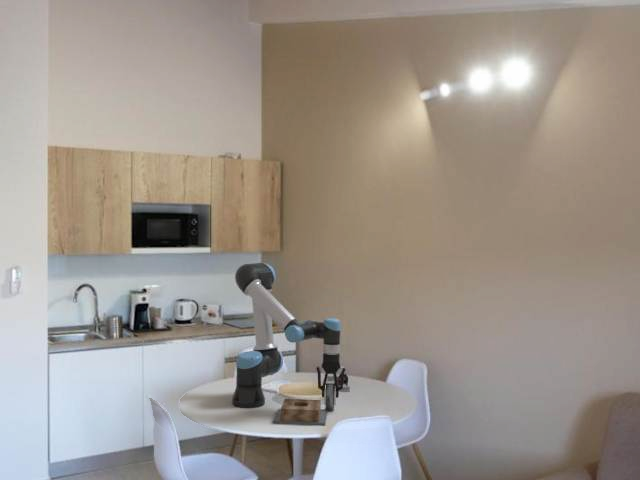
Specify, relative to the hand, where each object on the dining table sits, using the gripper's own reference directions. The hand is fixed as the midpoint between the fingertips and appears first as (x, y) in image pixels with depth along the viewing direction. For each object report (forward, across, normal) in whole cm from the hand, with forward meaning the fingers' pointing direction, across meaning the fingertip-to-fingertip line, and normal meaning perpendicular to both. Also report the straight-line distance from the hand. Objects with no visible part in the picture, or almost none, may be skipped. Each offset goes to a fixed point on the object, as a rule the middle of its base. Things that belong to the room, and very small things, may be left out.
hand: (329, 404), depth 306 cm
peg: (+3, 0, 0) cm, 3 cm away
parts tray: (+3, +2, +45) cm, 45 cm away
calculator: (+3, -28, +37) cm, 47 cm away
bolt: (+3, +3, +45) cm, 45 cm away
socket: (+3, -12, -14) cm, 19 cm away
